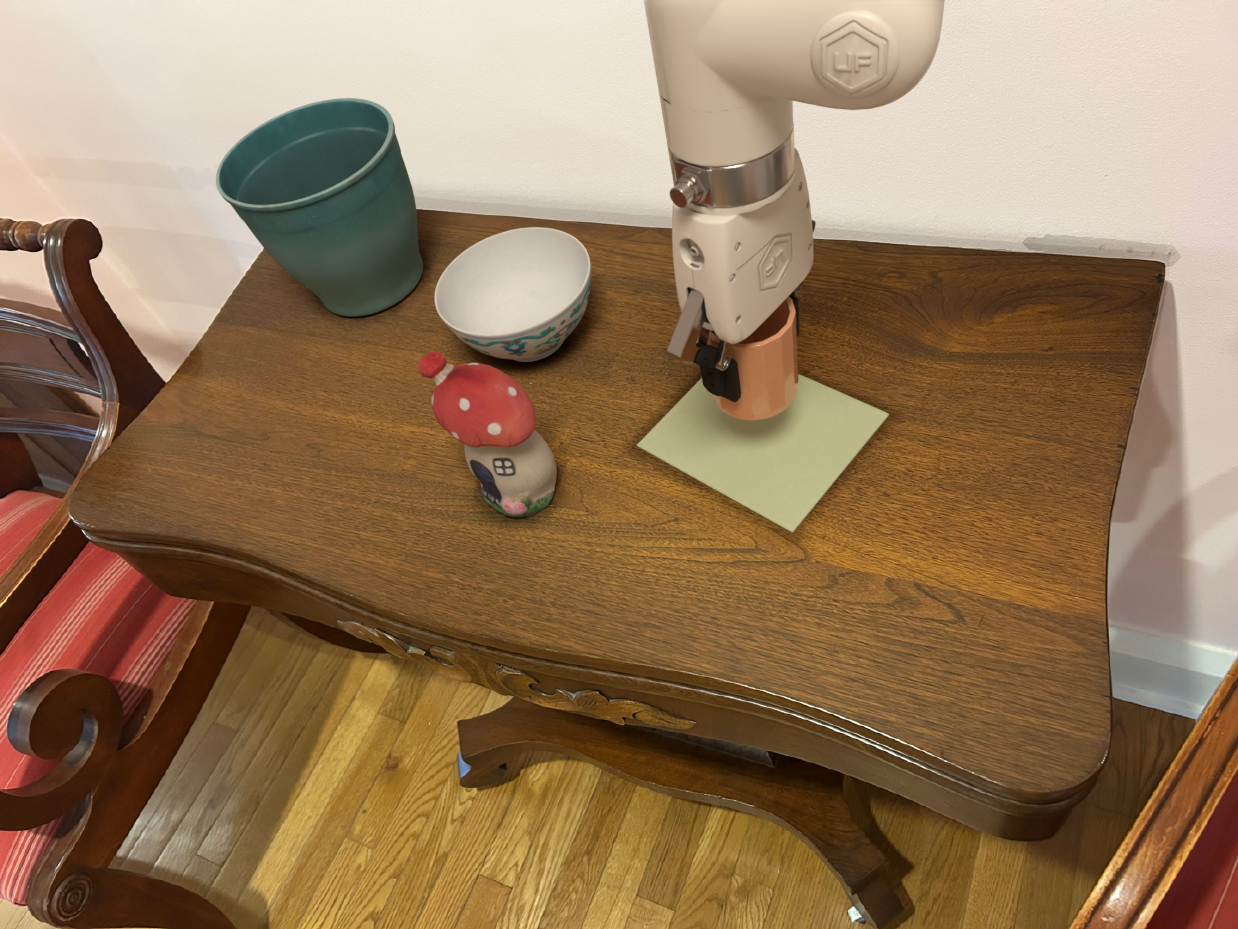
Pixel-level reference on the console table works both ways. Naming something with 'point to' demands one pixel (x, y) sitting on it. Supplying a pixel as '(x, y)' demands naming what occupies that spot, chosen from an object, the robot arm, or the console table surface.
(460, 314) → the chinaware
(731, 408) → the cup
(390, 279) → the flower pot
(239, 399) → the console table surface
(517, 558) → the console table surface
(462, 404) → the decorative ornament
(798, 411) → the mat
